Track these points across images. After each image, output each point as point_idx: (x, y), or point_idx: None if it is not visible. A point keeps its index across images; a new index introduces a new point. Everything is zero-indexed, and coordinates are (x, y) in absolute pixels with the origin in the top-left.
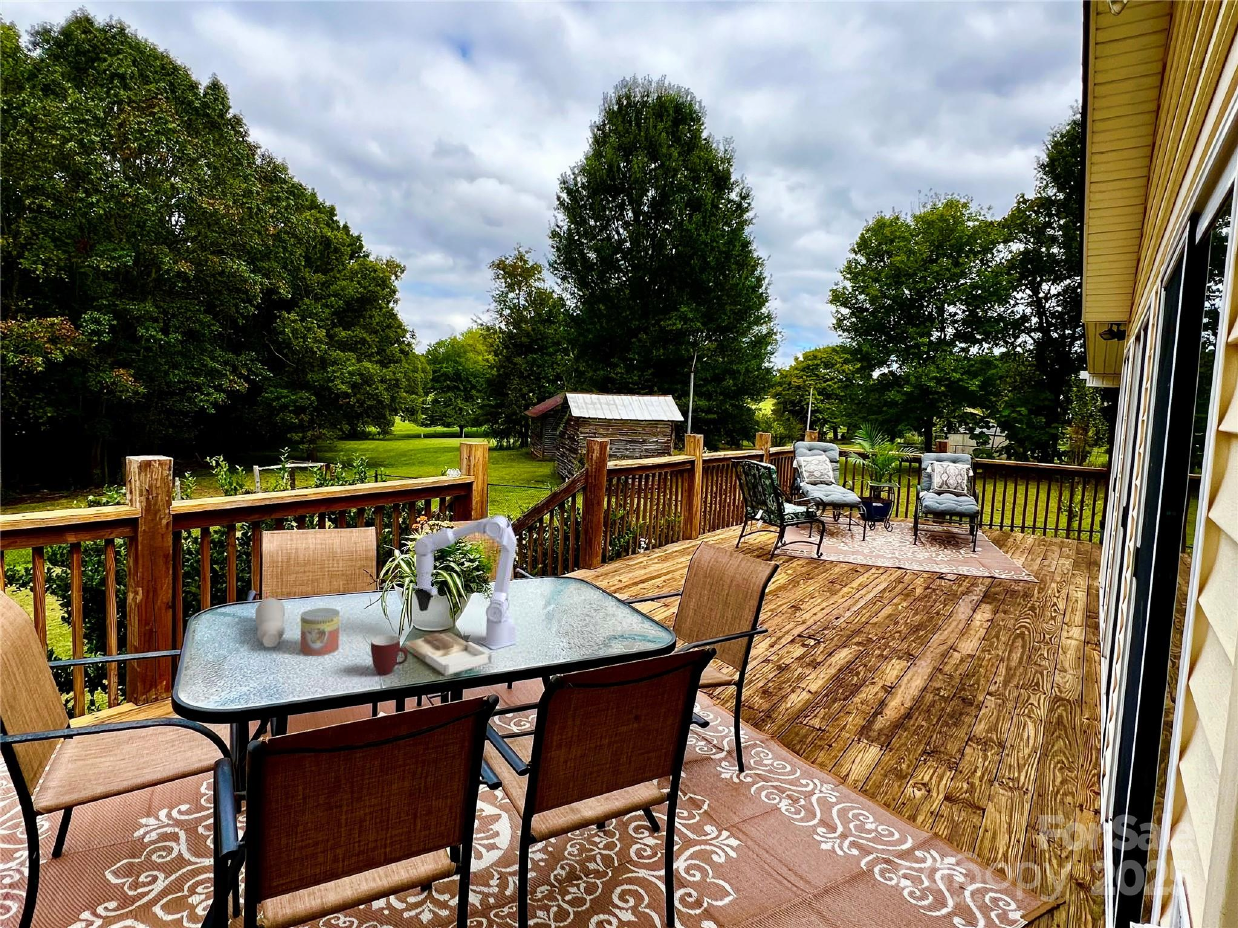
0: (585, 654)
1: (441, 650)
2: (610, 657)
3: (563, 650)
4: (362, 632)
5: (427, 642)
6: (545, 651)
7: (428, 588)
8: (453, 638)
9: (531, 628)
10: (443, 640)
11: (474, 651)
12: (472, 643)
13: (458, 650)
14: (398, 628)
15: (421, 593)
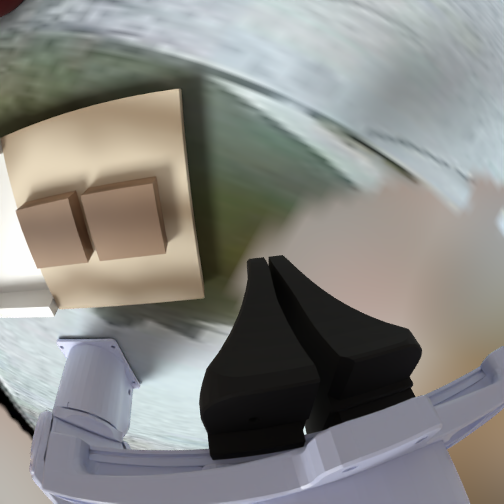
0: (33, 414)
1: None
2: (24, 421)
3: (48, 408)
4: (438, 50)
5: (117, 182)
6: (44, 393)
7: (97, 501)
8: (128, 288)
9: (175, 424)
10: (67, 244)
11: (22, 297)
12: (41, 314)
13: None
14: (405, 165)
15: (202, 401)
